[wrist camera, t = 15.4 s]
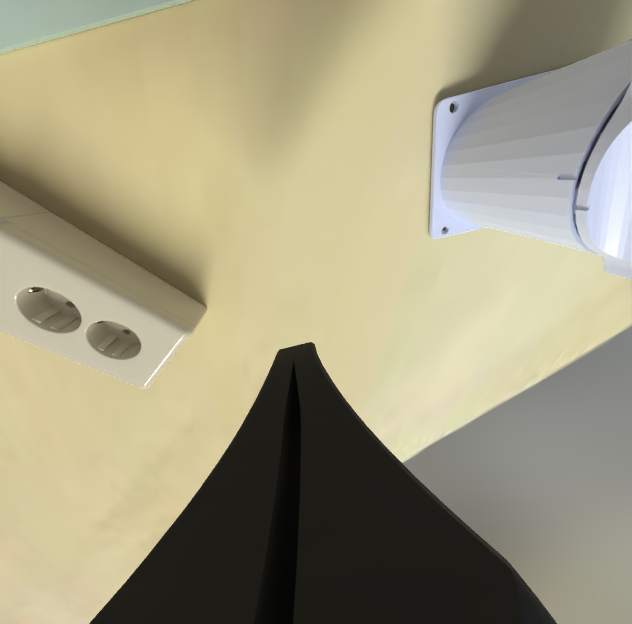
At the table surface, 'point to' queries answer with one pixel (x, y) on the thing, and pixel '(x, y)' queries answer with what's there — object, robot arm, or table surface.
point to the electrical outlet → (86, 297)
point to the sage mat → (64, 18)
